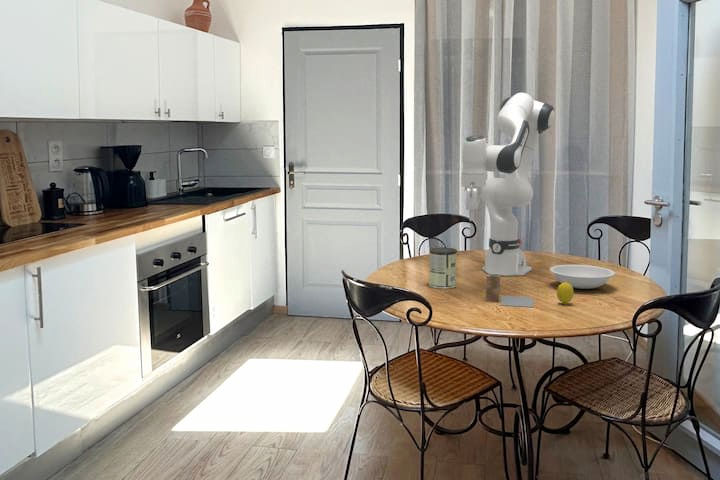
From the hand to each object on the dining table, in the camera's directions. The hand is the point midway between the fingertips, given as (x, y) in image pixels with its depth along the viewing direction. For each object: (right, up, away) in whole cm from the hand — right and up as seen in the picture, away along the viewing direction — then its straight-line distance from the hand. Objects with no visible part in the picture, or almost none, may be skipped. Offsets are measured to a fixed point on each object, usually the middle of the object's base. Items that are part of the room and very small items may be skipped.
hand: (472, 219), depth 273 cm
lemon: (+30, -30, -12) cm, 44 cm away
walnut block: (+6, -29, -7) cm, 30 cm away
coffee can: (-9, -25, +15) cm, 31 cm away
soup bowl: (+44, -26, +14) cm, 53 cm away
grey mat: (+14, -29, -9) cm, 34 cm away
